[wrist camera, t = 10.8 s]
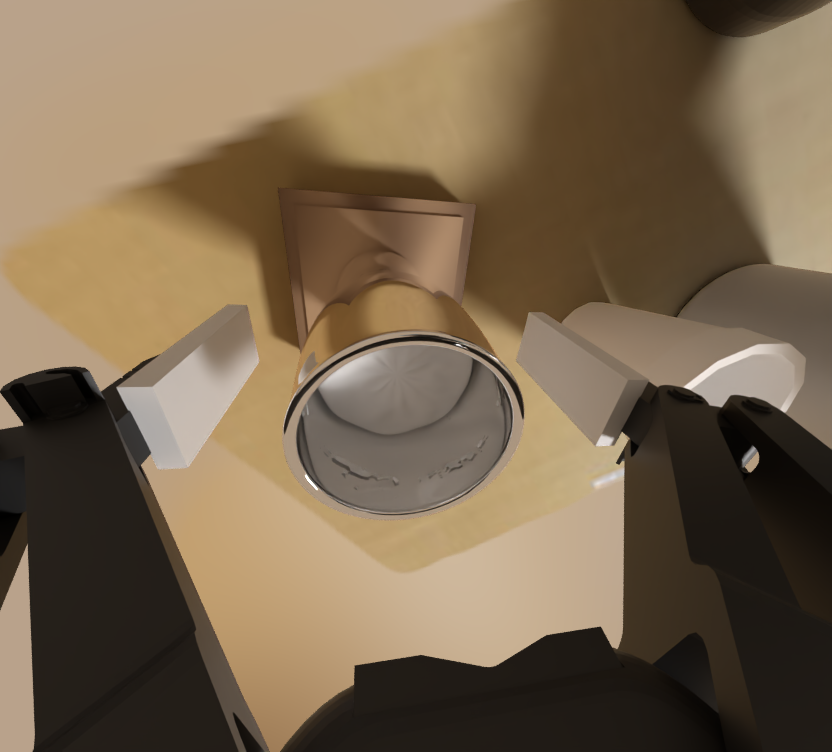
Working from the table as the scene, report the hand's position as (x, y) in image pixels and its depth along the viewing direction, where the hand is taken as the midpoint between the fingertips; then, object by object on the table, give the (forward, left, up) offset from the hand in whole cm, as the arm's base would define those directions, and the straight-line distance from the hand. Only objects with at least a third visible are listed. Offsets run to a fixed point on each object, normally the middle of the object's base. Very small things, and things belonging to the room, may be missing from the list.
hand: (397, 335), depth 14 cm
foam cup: (-20, +4, -11) cm, 23 cm away
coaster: (0, 0, -11) cm, 11 cm away
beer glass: (0, 0, -8) cm, 8 cm away
